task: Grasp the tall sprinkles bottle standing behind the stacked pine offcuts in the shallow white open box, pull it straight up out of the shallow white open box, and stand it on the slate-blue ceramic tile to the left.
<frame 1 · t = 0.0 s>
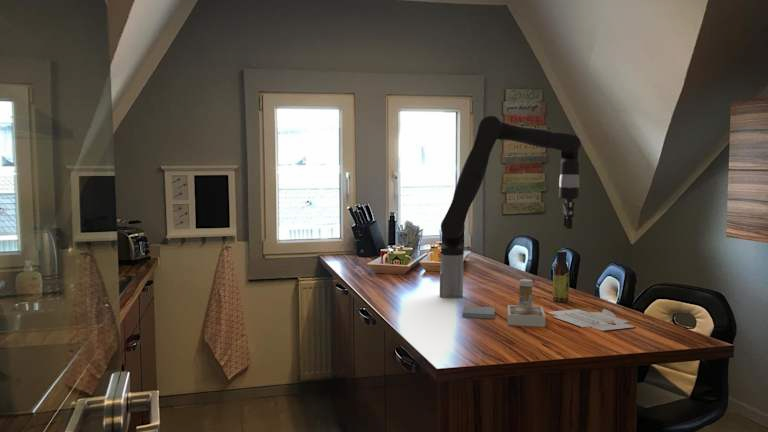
hand: (567, 227, 237), 29 cm above the countertop, fingers open, 8 cm apart
ceramic tile: (478, 314, 216), on the countertop
white cloth: (589, 322, 209), on the countertop
sauce bottle: (560, 301, 240), on the countertop
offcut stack: (525, 323, 204), resting in shallow white open box
sprinkles bottle: (525, 318, 211), resting in shallow white open box
shallow white open box: (525, 320, 207), on the countertop
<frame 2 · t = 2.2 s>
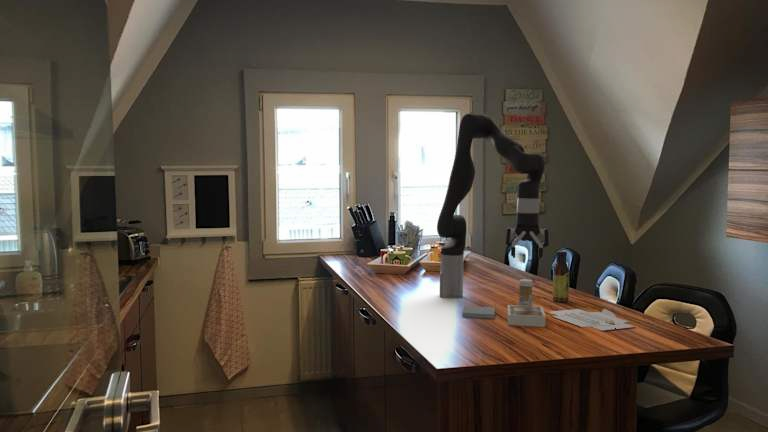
hand: (526, 258, 209), 21 cm above the countertop, fingers open, 8 cm apart
nothing on the countertop moved.
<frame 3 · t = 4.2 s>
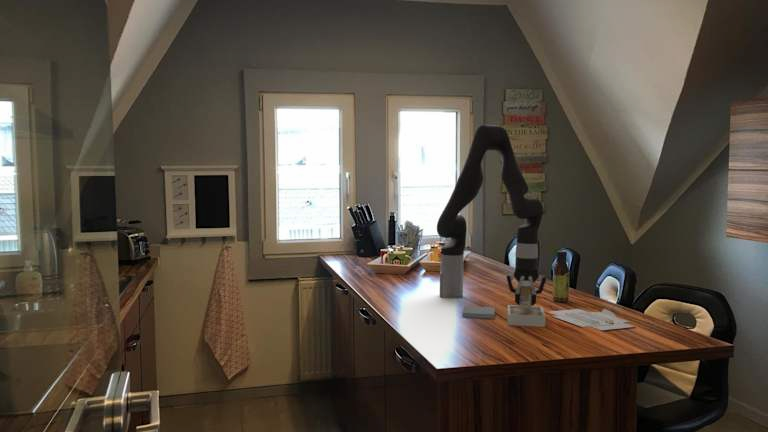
hand: (525, 304, 210), 5 cm above the countertop, fingers closed on sprinkles bottle, 4 cm apart
sprinkles bottle: (525, 318, 211), resting in shallow white open box, touching gripper
everything else where it was.
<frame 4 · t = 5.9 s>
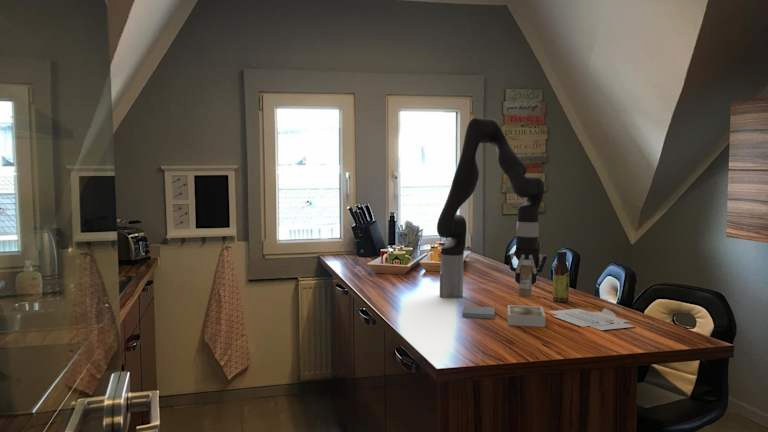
hand: (525, 283, 210), 12 cm above the countertop, fingers closed on sprinkles bottle, 4 cm apart
sprinkles bottle: (525, 297, 210), point 7 cm above the countertop, touching gripper
everything else where it was.
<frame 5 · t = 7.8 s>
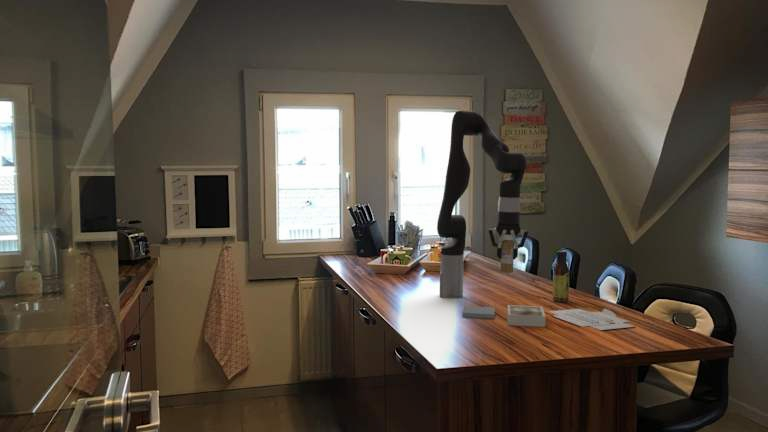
hand: (507, 258, 212), 20 cm above the countertop, fingers closed on sprinkles bottle, 4 cm apart
sprinkles bottle: (506, 272, 212), point 15 cm above the countertop, touching gripper
everything else where it was.
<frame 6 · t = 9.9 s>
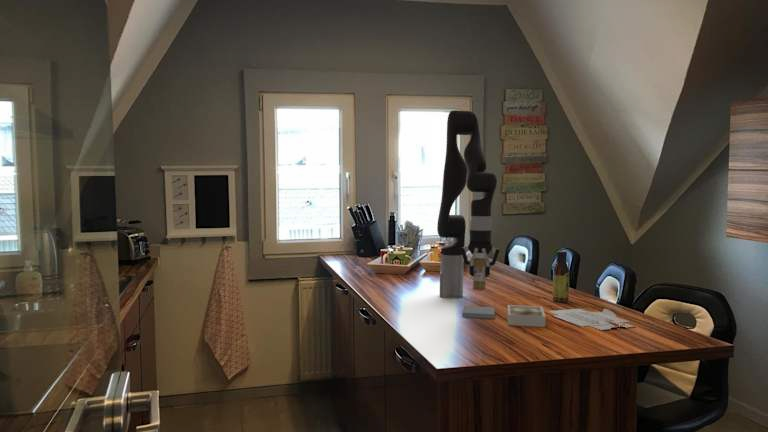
hand: (479, 276, 215), 14 cm above the countertop, fingers closed on sprinkles bottle, 4 cm apart
sprinkles bottle: (479, 290, 215), point 9 cm above the countertop, touching gripper
when the fingers open (7 cm above the countertop, at t = 11.5 s): sprinkles bottle stays where it is, resting on ceramic tile.
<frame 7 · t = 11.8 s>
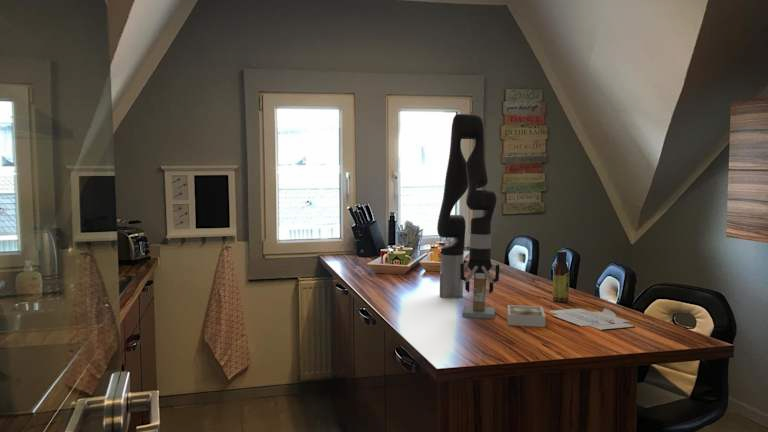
hand: (479, 292, 215), 8 cm above the countertop, fingers open, 7 cm apart
sprinkles bottle: (478, 310, 216), point 1 cm above the countertop, touching ceramic tile
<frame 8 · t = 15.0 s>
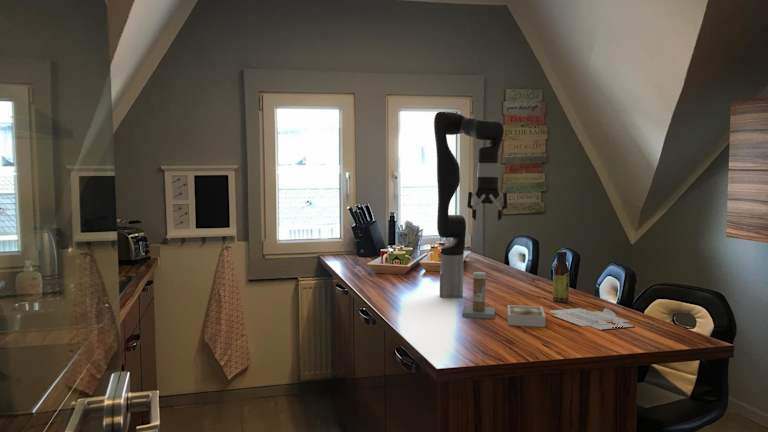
hand: (486, 220, 221), 33 cm above the countertop, fingers open, 8 cm apart
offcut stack: (523, 324, 203), resting in shallow white open box
at the end: sprinkles bottle 0.1 cm off-centre on the ceramic tile, point 1.3 cm above the ceramic tile's base; sprinkles bottle tilted 0°; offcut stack moved 0.9 cm from its start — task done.
